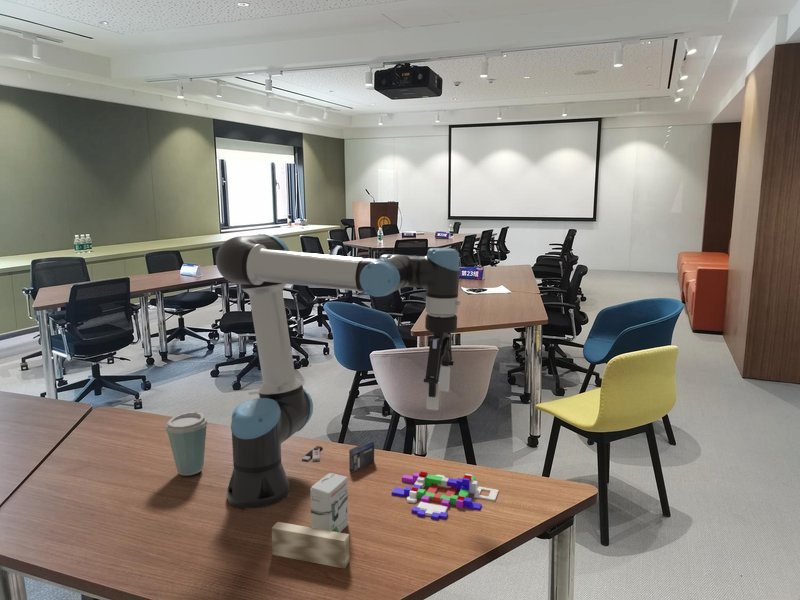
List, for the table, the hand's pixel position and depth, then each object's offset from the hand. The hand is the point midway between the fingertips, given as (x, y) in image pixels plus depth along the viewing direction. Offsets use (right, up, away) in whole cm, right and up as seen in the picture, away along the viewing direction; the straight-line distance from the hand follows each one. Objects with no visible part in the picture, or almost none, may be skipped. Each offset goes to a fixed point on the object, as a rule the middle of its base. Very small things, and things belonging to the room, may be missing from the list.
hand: (438, 399), depth 138 cm
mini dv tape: (-20, -22, +19) cm, 35 cm away
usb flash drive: (-33, -21, +26) cm, 48 cm away
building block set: (+1, -25, +3) cm, 26 cm away
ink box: (-25, -27, -12) cm, 39 cm away
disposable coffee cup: (-67, -22, +16) cm, 72 cm away
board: (-28, -29, -22) cm, 45 cm away
